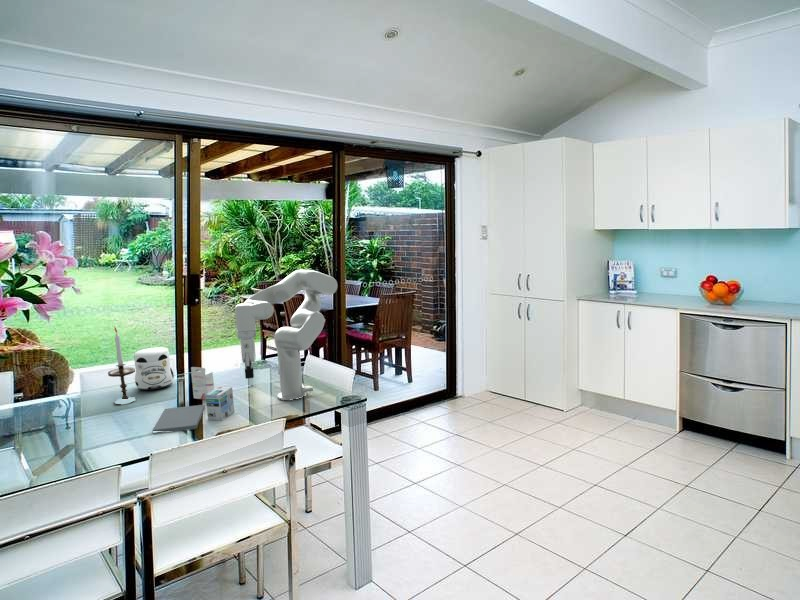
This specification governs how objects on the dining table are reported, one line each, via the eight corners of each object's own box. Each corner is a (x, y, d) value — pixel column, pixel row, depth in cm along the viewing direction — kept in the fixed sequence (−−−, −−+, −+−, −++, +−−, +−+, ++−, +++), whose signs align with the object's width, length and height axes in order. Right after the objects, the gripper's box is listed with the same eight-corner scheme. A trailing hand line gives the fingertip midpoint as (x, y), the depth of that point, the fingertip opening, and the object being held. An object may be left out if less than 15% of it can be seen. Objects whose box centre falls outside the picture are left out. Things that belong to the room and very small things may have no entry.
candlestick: (121, 407, 248) (111, 329, 242) (106, 403, 253) (96, 327, 247) (143, 399, 257) (134, 324, 251) (128, 396, 262) (119, 322, 257)
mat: (204, 407, 242) (204, 404, 242) (196, 428, 219) (196, 425, 218) (165, 412, 239) (164, 408, 239) (152, 433, 216) (152, 430, 215)
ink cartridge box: (215, 396, 257) (212, 365, 254) (208, 400, 252) (205, 368, 250) (200, 394, 260) (197, 364, 257) (193, 398, 255) (189, 367, 253)
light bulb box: (222, 420, 226) (219, 395, 224) (207, 420, 227) (204, 394, 226) (235, 411, 236) (232, 386, 235) (220, 410, 238) (218, 386, 236)
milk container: (151, 394, 263) (146, 357, 260) (128, 390, 272) (123, 353, 269) (182, 384, 278) (178, 348, 275) (159, 379, 287) (155, 345, 284)
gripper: (255, 337, 222) (258, 382, 225) (256, 329, 237) (259, 372, 239) (235, 338, 221) (238, 383, 223) (238, 331, 235) (241, 373, 238)
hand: (249, 377), depth 231 cm, fingers closed
